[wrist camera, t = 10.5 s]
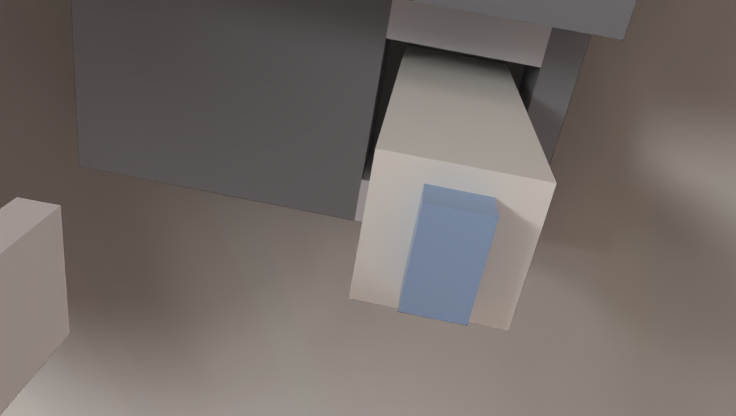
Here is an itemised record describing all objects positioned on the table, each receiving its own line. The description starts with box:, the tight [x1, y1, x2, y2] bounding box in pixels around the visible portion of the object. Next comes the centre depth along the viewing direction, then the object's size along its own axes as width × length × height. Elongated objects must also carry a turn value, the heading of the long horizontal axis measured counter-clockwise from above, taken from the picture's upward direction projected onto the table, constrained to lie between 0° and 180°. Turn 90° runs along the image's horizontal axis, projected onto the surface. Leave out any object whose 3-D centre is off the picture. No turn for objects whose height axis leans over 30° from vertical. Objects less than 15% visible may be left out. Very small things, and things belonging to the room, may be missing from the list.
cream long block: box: [349, 45, 557, 331], centre depth 19 cm, size 4×4×13 cm
